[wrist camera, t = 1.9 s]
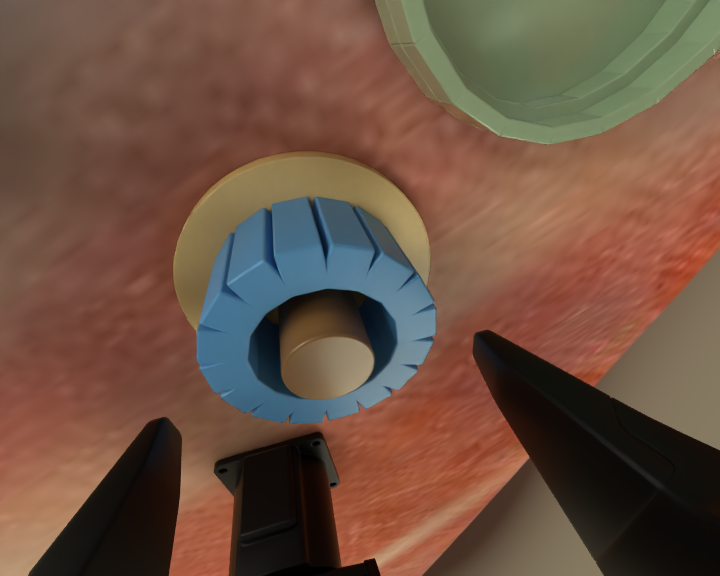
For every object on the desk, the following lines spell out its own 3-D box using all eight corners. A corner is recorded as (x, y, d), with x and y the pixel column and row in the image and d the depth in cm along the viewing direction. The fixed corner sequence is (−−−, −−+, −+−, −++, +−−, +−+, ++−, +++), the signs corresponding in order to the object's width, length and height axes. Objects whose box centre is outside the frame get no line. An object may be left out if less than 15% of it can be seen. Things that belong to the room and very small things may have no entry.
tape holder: (425, 331, 18) (475, 418, 13) (233, 382, 17) (222, 493, 12) (421, 124, 12) (508, 165, 7) (120, 184, 11) (26, 270, 6)
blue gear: (405, 330, 16) (436, 391, 13) (250, 371, 15) (247, 445, 12) (395, 176, 12) (438, 218, 9) (176, 223, 11) (144, 285, 8)
